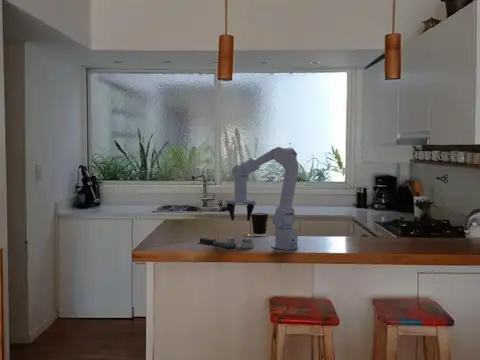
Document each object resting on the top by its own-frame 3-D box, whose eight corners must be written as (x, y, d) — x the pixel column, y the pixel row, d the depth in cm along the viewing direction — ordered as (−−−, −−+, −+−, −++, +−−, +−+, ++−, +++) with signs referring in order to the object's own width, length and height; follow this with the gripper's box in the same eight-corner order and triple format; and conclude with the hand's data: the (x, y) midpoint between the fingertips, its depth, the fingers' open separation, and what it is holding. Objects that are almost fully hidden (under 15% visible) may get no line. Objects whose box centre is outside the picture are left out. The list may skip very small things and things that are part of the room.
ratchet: (238, 247, 240) (238, 238, 240) (230, 249, 236) (230, 239, 236) (206, 241, 255) (206, 232, 255) (197, 242, 252) (197, 233, 252)
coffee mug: (261, 235, 276) (261, 215, 275) (247, 233, 281) (247, 213, 280) (274, 232, 285) (274, 213, 284) (260, 230, 290) (260, 211, 290)
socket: (253, 248, 239) (253, 235, 239) (243, 248, 238) (243, 235, 238) (250, 246, 244) (251, 233, 244) (240, 246, 243) (240, 234, 242)
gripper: (257, 190, 255) (257, 219, 256) (228, 190, 260) (228, 218, 260) (253, 191, 249) (253, 221, 249) (223, 191, 253) (223, 220, 254)
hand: (240, 220), depth 254 cm, fingers open, 7 cm apart
